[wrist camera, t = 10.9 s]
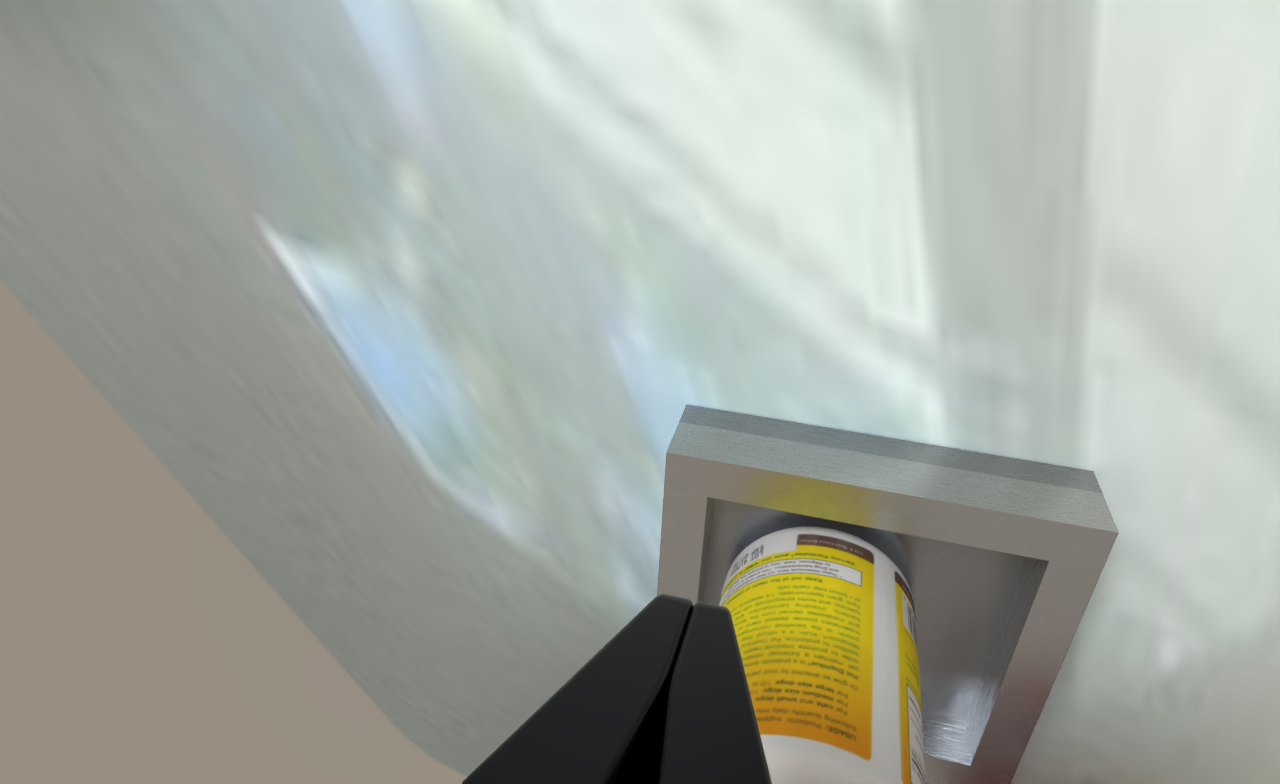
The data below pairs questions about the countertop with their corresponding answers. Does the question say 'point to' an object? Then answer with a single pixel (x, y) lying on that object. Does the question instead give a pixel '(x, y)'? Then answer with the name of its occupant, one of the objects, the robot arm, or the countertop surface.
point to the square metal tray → (909, 557)
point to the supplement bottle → (829, 658)
